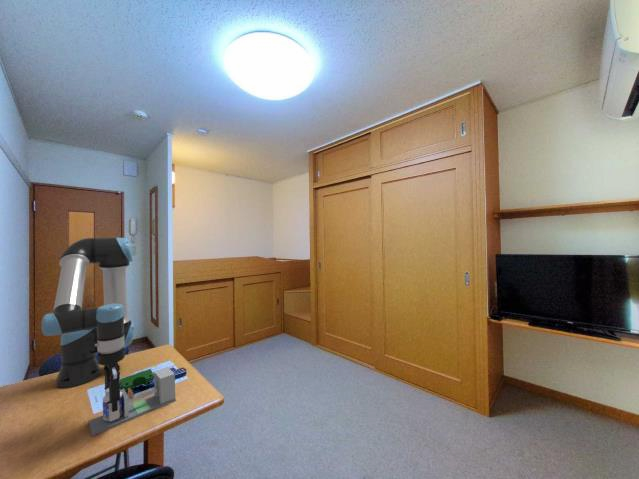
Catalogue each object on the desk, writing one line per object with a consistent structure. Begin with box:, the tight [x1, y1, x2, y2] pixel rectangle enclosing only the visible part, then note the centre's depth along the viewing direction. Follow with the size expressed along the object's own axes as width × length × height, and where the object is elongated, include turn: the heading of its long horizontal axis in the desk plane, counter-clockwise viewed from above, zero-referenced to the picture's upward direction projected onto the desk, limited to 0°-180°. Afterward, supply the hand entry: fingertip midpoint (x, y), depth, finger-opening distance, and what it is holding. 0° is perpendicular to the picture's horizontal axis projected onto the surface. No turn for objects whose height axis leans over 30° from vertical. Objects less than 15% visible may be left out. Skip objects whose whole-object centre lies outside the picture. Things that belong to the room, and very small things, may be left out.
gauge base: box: [88, 366, 177, 437], centre depth 98 cm, size 9×25×10 cm, turn 137°
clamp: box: [120, 368, 154, 392], centre depth 113 cm, size 12×6×9 cm, turn 132°
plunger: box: [120, 386, 159, 417], centre depth 100 cm, size 7×14×7 cm, turn 137°
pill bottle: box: [102, 388, 122, 421], centre depth 93 cm, size 5×5×10 cm
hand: (112, 415), depth 93 cm, fingers closed on pill bottle, 5 cm apart
